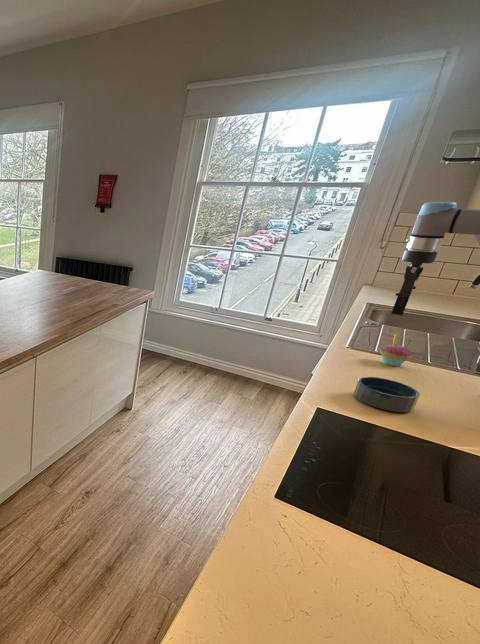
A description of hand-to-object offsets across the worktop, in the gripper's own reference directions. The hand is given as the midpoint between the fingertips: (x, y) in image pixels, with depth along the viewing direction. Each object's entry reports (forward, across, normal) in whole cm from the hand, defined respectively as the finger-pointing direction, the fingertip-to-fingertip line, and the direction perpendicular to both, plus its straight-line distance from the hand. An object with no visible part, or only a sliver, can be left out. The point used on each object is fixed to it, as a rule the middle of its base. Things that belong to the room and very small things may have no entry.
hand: (398, 310), depth 141 cm
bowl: (+21, +38, +4) cm, 43 cm away
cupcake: (+21, -2, +3) cm, 21 cm away
